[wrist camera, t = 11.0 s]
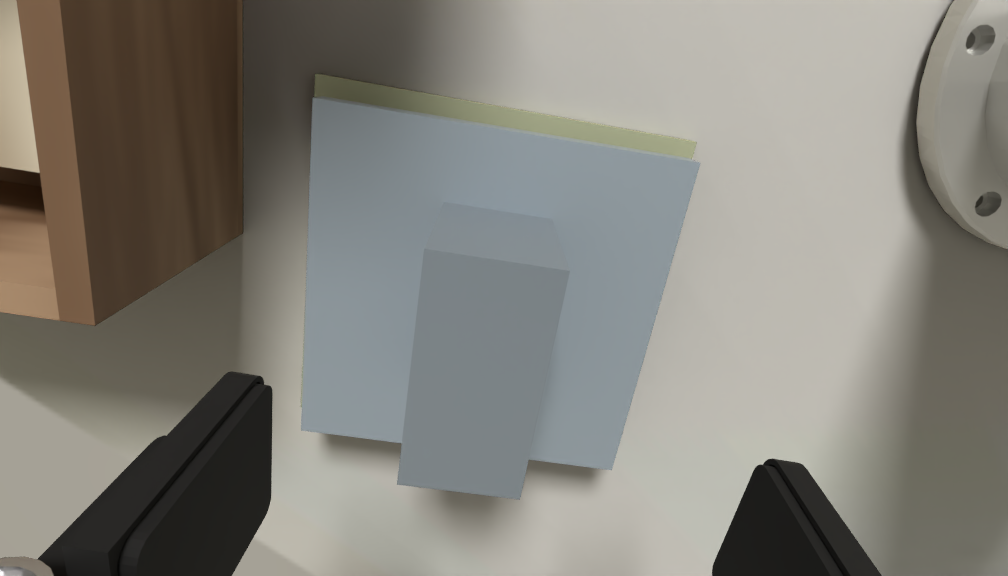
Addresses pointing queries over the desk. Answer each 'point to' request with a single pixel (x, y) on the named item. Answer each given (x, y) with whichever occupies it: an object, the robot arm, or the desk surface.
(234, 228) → the walnut box
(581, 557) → the desk surface
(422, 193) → the lid
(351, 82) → the felt mat
